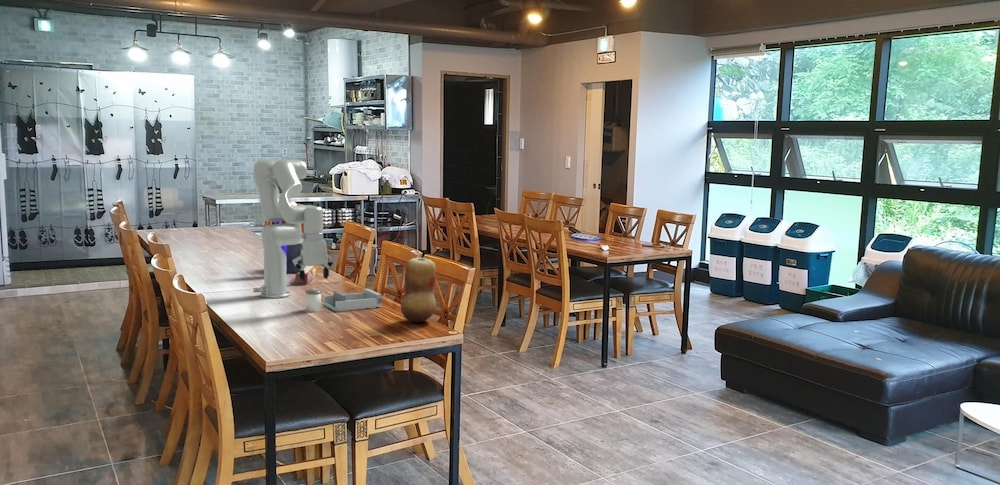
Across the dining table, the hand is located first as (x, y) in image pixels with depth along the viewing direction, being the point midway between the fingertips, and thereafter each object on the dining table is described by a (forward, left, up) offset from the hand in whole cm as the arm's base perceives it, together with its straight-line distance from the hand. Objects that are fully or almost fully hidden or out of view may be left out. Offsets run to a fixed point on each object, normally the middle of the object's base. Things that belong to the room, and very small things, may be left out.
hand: (314, 279), depth 311 cm
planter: (+24, +95, -13) cm, 99 cm away
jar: (0, +1, -13) cm, 13 cm away
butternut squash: (+29, -36, -13) cm, 48 cm away
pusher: (+17, +1, -13) cm, 21 cm away
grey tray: (+17, +1, -13) cm, 21 cm away
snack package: (+19, +64, -13) cm, 68 cm away
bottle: (+10, +81, -13) cm, 82 cm away
